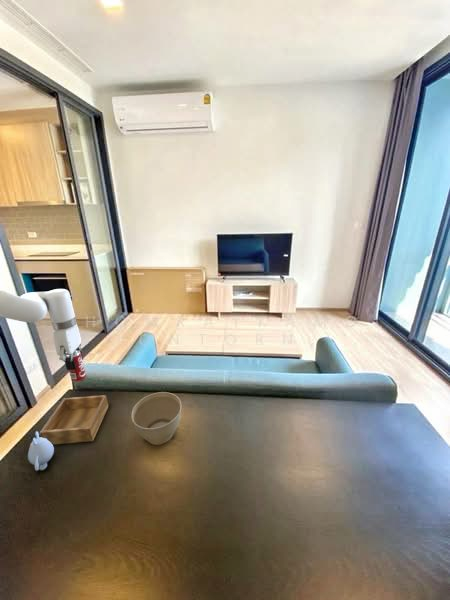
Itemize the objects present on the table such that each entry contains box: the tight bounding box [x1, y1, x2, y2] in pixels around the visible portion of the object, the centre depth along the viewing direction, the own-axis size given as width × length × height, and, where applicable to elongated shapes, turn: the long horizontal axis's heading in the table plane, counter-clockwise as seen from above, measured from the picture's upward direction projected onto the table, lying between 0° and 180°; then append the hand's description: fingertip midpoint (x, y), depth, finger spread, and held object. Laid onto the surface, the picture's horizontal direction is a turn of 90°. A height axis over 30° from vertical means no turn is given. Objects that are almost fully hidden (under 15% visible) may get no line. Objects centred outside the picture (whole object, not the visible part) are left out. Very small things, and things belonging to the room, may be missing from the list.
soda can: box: [66, 350, 87, 383], centre depth 98 cm, size 5×5×12 cm
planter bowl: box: [130, 391, 182, 446], centre depth 85 cm, size 16×16×11 cm
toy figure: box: [27, 431, 55, 472], centre depth 74 cm, size 11×6×12 cm, turn 21°
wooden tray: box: [39, 394, 109, 446], centre depth 90 cm, size 16×16×6 cm
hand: (75, 364), depth 97 cm, fingers closed on soda can, 5 cm apart
